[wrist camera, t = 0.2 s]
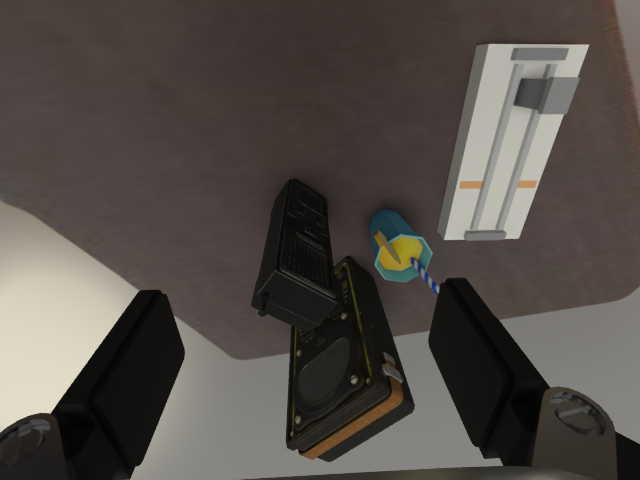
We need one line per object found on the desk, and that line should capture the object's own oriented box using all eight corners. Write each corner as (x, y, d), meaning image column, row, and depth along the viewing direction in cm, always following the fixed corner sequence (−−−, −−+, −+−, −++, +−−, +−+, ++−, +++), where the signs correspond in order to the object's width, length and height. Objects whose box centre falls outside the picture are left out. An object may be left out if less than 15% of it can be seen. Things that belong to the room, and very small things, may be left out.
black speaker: (345, 250, 52) (375, 381, 31) (380, 277, 56) (429, 414, 34) (286, 304, 58) (276, 450, 36) (320, 326, 61) (330, 472, 39)
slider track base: (476, 45, 39) (493, 43, 35) (570, 45, 39) (596, 44, 36) (436, 231, 51) (446, 243, 48) (507, 229, 52) (522, 241, 48)
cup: (437, 228, 51) (483, 284, 38) (406, 262, 54) (439, 324, 41) (369, 185, 47) (394, 232, 34) (340, 224, 50) (353, 281, 37)
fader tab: (520, 75, 38) (554, 77, 32) (542, 75, 38) (579, 77, 33) (511, 107, 39) (541, 114, 34) (532, 107, 39) (566, 114, 34)
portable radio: (334, 202, 48) (360, 317, 26) (312, 231, 50) (319, 359, 29) (291, 175, 46) (280, 276, 24) (270, 206, 48) (242, 325, 26)
